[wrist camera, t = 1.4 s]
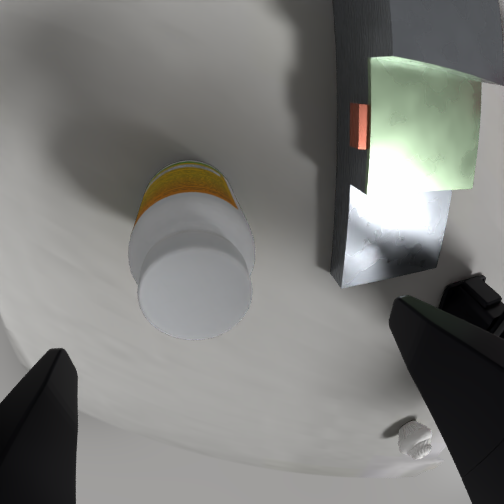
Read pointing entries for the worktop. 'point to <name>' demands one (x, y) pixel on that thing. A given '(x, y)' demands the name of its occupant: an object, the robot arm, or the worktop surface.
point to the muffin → (415, 439)
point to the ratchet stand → (406, 126)
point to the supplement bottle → (192, 253)
